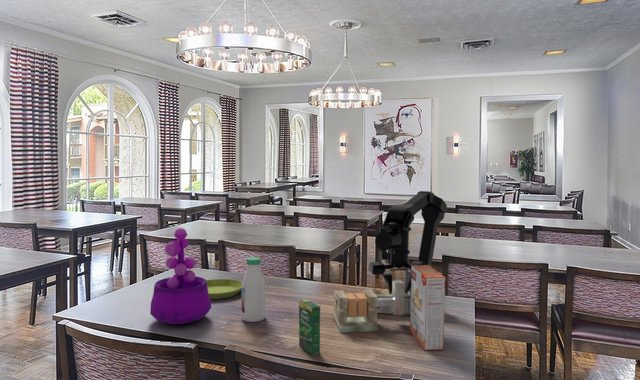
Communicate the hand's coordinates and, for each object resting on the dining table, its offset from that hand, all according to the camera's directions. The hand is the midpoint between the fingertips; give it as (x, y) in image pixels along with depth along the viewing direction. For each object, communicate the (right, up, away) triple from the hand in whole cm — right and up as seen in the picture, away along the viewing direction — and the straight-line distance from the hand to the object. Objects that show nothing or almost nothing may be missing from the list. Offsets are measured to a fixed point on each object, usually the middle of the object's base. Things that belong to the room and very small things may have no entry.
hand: (398, 293), depth 145 cm
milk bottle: (-47, -9, +3) cm, 48 cm away
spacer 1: (-16, -3, -2) cm, 16 cm away
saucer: (-65, -7, +30) cm, 72 cm away
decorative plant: (-70, -9, 0) cm, 70 cm away
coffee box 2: (-28, -11, -21) cm, 37 cm away
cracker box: (+6, -11, -14) cm, 18 cm away
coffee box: (-9, -5, +14) cm, 17 cm away
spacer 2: (-12, -3, -2) cm, 13 cm away
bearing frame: (-14, -9, -1) cm, 17 cm away
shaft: (-9, -6, -1) cm, 11 cm away
